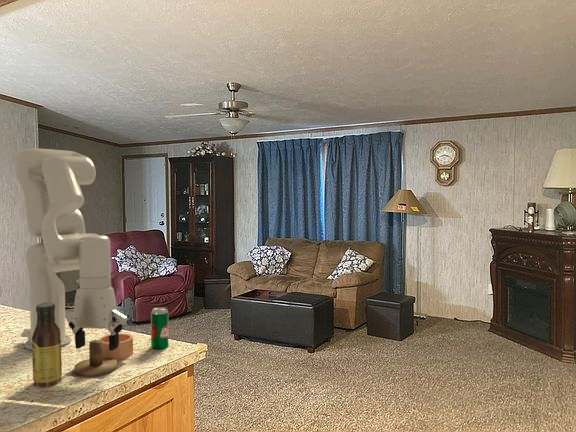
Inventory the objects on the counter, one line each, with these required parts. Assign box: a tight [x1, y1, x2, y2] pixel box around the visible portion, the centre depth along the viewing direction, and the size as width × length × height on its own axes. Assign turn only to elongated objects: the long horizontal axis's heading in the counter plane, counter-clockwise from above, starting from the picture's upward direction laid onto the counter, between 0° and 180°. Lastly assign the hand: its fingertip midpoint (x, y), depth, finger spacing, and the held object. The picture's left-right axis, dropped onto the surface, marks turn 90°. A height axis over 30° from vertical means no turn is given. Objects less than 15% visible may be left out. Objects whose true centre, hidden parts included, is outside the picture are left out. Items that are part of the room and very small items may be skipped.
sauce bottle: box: [31, 303, 63, 388], centre depth 113 cm, size 6×6×20 cm
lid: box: [73, 339, 118, 378], centre depth 122 cm, size 10×10×7 cm
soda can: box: [150, 307, 170, 351], centre depth 140 cm, size 5×5×12 cm
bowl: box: [98, 332, 134, 361], centre depth 133 cm, size 9×9×5 cm
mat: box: [63, 361, 127, 380], centre depth 122 cm, size 11×11×1 cm
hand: (97, 348), depth 122 cm, fingers open, 9 cm apart
